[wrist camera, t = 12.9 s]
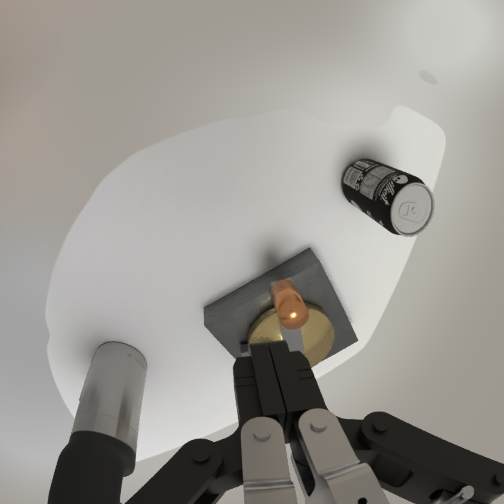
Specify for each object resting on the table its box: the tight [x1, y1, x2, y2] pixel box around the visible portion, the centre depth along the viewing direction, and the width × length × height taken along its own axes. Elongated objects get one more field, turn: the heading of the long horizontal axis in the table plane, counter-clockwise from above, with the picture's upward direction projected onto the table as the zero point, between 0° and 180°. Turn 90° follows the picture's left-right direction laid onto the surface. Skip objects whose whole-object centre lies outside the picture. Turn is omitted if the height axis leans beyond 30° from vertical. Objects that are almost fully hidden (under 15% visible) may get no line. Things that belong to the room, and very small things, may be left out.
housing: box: [204, 248, 358, 362], centre depth 44 cm, size 17×17×4 cm
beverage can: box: [343, 159, 435, 237], centre depth 33 cm, size 7×7×12 cm
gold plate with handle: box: [240, 277, 335, 368], centre depth 37 cm, size 18×13×8 cm
